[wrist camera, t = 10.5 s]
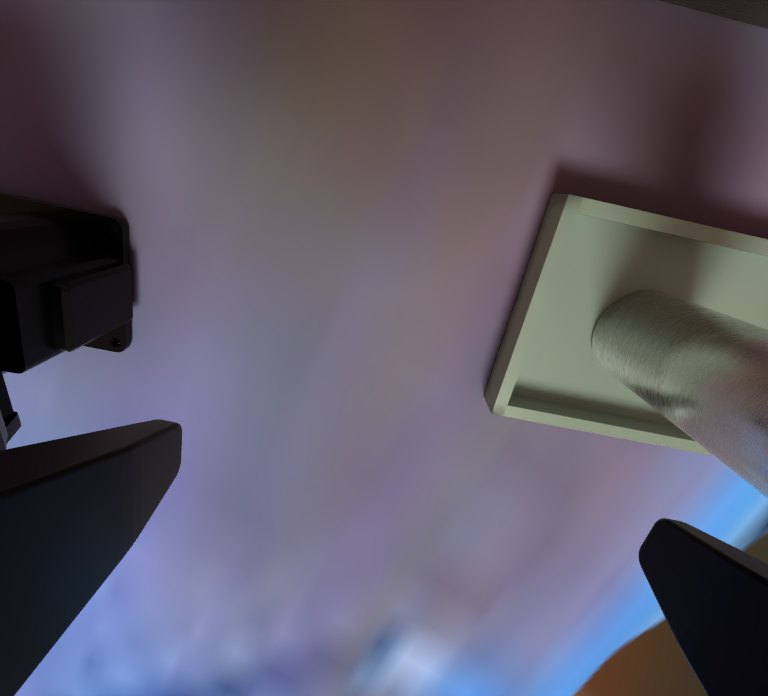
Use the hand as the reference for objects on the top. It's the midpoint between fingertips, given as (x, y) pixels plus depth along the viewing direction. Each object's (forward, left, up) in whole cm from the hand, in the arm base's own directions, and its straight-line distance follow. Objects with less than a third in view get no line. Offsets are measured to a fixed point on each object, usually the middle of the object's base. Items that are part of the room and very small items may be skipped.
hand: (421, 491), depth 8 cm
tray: (+12, +1, -13) cm, 18 cm away
